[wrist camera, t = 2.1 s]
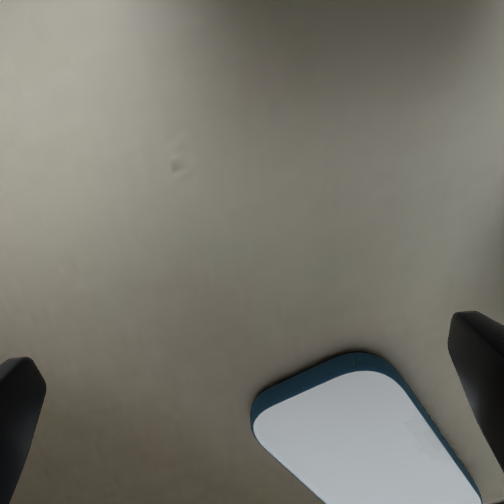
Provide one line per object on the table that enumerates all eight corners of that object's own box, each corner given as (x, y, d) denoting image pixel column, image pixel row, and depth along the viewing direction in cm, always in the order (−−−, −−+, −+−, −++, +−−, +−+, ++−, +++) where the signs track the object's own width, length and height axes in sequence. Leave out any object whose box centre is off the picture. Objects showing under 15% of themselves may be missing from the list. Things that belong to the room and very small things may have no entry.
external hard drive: (232, 398, 29) (231, 421, 27) (374, 331, 26) (382, 353, 24) (369, 527, 39) (374, 550, 37) (483, 491, 36) (495, 514, 34)
